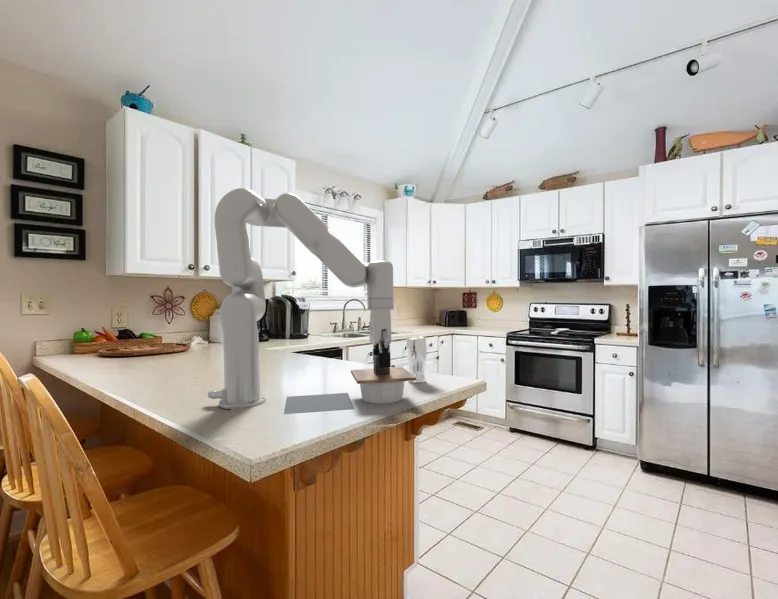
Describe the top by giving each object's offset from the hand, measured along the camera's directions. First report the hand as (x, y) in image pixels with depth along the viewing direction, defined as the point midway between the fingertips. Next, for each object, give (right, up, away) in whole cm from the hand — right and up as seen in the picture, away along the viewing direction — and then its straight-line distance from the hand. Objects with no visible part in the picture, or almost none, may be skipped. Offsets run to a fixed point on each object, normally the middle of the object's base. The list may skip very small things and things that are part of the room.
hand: (381, 364), depth 121 cm
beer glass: (+12, -10, +24) cm, 28 cm away
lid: (0, -3, 0) cm, 3 cm away
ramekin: (0, -11, 0) cm, 11 cm away
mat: (-18, -11, -3) cm, 21 cm away
